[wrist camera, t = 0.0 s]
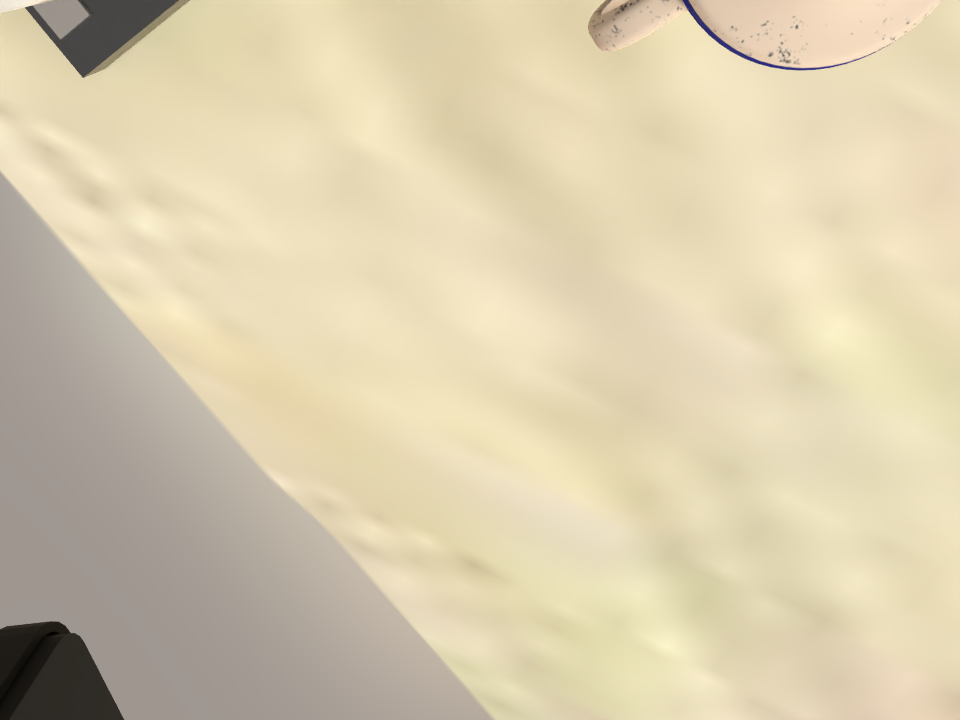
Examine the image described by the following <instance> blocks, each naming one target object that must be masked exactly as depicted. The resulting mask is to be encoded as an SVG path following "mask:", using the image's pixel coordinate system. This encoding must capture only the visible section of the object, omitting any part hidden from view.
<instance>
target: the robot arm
mask: <svg viewBox="0 0 960 720" xmlns="http://www.w3.org/2000/svg"><path fill="white" fill-rule="evenodd" d="M0 720H124V719H123V717H122V715H121V713H120V711H119V709H118V707H117V705H116V703H115V701H114V699H113V697H112V695H111V694H110V691H109V690H108V688H107V686H106V684H105V682H104V680H103V678H102V676H101V674H100V672H99V670H98V668H97V666H96V664H95V662H94V660H93V659H92V657H91V655H90V653H89V651H88V649H87V647H86V645H85V643H84V641H83V640H82V639H81V637H80V636H78V635H77V634H75V633H70V632H69V630H68V629H67V627H66V626H65V625H63V624H61V623H60V622H42V623H33V624H24V625H15V626H7V627H4V628H2V629H0Z"/></svg>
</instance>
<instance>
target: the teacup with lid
mask: <svg viewBox="0 0 960 720" xmlns="http://www.w3.org/2000/svg"><path fill="white" fill-rule="evenodd" d="M941 1H942V0H606V1H605V2H604V3H603V4H601V5H600V7H599V8H598V9H597V10H596V11H595V12H594V14H593V15H592V17H591V19H590V21H589V24H588V29H589V33H590V35H591V37H592V39H593V40H594V42H595V44H596V45H597V46H598V48H600V49H601V50H603V51H607V52H611V51H616V50H620V49H622V48H625V47H627V46H629V45H631V44H633V43H635V42H637V41H639V40H641V39H643V38H644V37H646V36H648V35H650V34H651V33H653V32H654V31H656V30H658V29H659V28H661V27H662V26H664V25H666V24H667V23H669V22H670V21H672V20H673V19H675V18H676V17H678V16H679V15H681V14H682V13H684V12H685V11H687V10H688V11H689V12H690V14H691V15H692V16H693V18H694V19H695V20H696V22H697V23H698V24H699V25H700V26H701V27H702V28H703V29H704V30H705V31H706V32H707V34H708V35H710V36H711V37H712V38H713V39H714V40H716V41H717V42H718V43H719V44H721V45H722V46H724V47H725V48H727V49H728V50H730V51H731V52H733V53H735V54H737V55H739V56H741V57H742V58H745V59H747V60H750V61H752V62H755V63H758V64H761V65H765V66H769V67H773V68H780V69H786V70H816V69H824V68H830V67H835V66H839V65H843V64H847V63H850V62H853V61H856V60H859V59H861V58H864V57H866V56H868V55H870V54H873V53H875V52H877V51H879V50H881V49H882V48H884V47H886V46H888V45H890V44H891V43H893V42H894V41H896V40H897V39H899V38H900V37H902V36H903V35H905V34H906V33H907V32H909V31H910V30H911V29H913V28H914V27H915V26H916V25H918V24H919V23H920V22H921V21H922V20H923V19H924V18H926V17H927V16H928V15H929V14H930V13H931V12H932V11H933V10H934V9H935V8H936V7H937V6H938V4H939V3H940V2H941Z"/></svg>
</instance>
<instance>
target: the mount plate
mask: <svg viewBox="0 0 960 720" xmlns="http://www.w3.org/2000/svg"><path fill="white" fill-rule="evenodd" d="M188 1H189V0H53V1H49V2H44V3H40V4H36V5H32V6H28V7H25V8H26V9H27V11H28V12H29V13H30V14H31V15H32V17H33V18H34V19H35V20H36V21H37V23H38V24H39V25H40V26H41V28H42V29H43V30H44V31H45V32H46V34H47V35H48V36H49V37H50V38H51V40H52V41H53V42H54V43H55V44H56V46H57V47H58V48H59V49H60V51H61V52H62V53H63V54H64V55H65V57H66V58H67V59H68V60H69V61H70V63H71V64H72V65H73V66H74V67H75V69H76V70H77V71H78V72H79V74H80V75H81V76H82V77H83V78H84V77H87V76H89V75H91V74H94V73H96V72H98V71H101V70H103V69H105V68H106V67H108V66H109V65H110V64H111V63H112V62H114V61H115V60H116V59H117V58H119V57H120V56H121V55H122V54H124V53H125V52H126V51H127V50H129V49H130V48H131V47H132V46H134V45H135V44H136V43H137V42H138V41H140V40H141V39H142V38H143V37H145V36H146V35H147V34H148V33H150V32H151V31H152V30H153V29H155V28H156V27H157V26H158V25H160V24H161V23H162V22H163V21H165V20H166V19H167V18H168V17H169V16H171V15H172V14H173V13H174V12H176V11H177V10H178V9H179V8H181V7H182V6H183V5H184V4H186V3H187V2H188Z"/></svg>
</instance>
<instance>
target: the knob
mask: <svg viewBox="0 0 960 720" xmlns="http://www.w3.org/2000/svg"><path fill="white" fill-rule="evenodd" d="M49 1H53V0H0V12H7V11H11V10H16V9H20V8H24V7H28V6H32V5H36V4H40V3H44V2H49Z"/></svg>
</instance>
